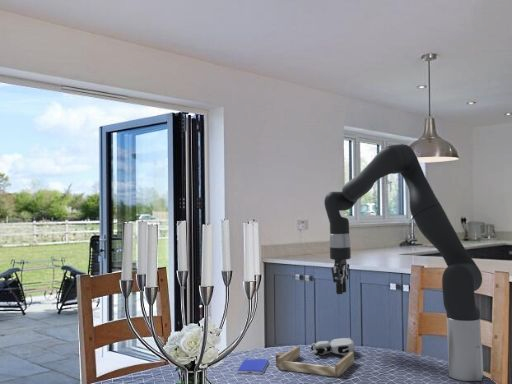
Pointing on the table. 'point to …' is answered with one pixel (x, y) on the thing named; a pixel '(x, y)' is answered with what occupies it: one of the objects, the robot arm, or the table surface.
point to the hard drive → (253, 366)
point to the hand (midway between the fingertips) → (341, 292)
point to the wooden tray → (286, 363)
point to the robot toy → (333, 346)
